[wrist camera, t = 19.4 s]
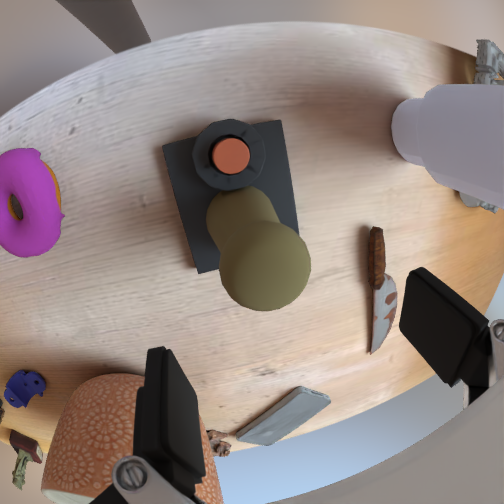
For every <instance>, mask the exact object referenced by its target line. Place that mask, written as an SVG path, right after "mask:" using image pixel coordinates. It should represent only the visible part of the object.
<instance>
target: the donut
mask: <svg viewBox="0 0 504 504" xmlns="http://www.w3.org/2000/svg"><path fill="white" fill-rule="evenodd" d="M40 155H41V153H40V152H39V151H37V150H36V149H34V148H27V149H26V148H18V149H12V150H9V151H7V152H5V153H3V154H1V155H0V245H1V246H2V247H3V248H4V249H5V250H6V251H8V252H9V253H11V254H13V255H15V256H18V257H30V256H38V255H41V254H43V253H45V252H47V251H49V250H50V249H51V248H52V247H53V246H54V244H55V243H56V241H57V240H58V238H59V237H60V233H61V231H60V226H61V220H62V218H63V217H65V215H64V214H62V213H61V197H60V190H59V186H58V182H57V180H56V177H55V174H54V173H53V171H52V170H51V168H50V167H49V166H48V165H47V164H46V163H45V162H43V161H42V160H41V159H40ZM12 194H14V195H15V196H16V198H17V199H18V201H19V203H20V205H21V207H22V210H23V219H20V218H19V217H18V216H17V214H16V213H15V211H14V209H13V207H12V203H11V197H12Z"/></svg>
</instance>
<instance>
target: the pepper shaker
mask: <svg viewBox="0 0 504 504" xmlns="http://www.w3.org/2000/svg"><path fill="white" fill-rule="evenodd" d="M206 224H207V229H208V232H209V233H210V235H211V237H212V239H213V240H214V242H215V244H216V246H217V247H218V249H219V251H220V253H221V256H220V262H219V271H220V276H221V281H222V285H223V286H224V288H225V289H226V291H227V293H228V294H229V296H230V297H231V298H232V299H233V300H234V301H236V302H237V303H238V304H240V305H241V306H243V307H246V308H249V309H252V310H255V311H272V310H276V309H280V308H282V307H284V306H286V305H288V304H290V303H291V302H292V301H294V300H295V299H296V298H297V297H298V296H299V295H300V294H301V292H302V291H303V289H304V288H305V286H306V284H307V282H308V278H309V275H310V272H311V258H310V255H309V252H308V249H307V247H306V244H305V242H304V241H303V240H302V239H301V237H300V236H299V235H298V234H297V233H296V232H295V231H294V230H293V229H291V228H290V227H288V226H286V225H284V224H282V223H280V221H279V219H278V217H277V214H276V212H275V210H274V208H273V206H272V204H271V202H270V199H269V198H268V197H267V196H266V195H265V194H264V193H263V192H262V191H261V190H259V189H257V188H255V187H253V186H248V185H247V186H246V187H243V188H239V189H234V190H230V191H225V190H222V191H220V192H219V193H218V194H217V195H216V196H215V197H214V198H213V199H212V201H211V203H210V205H209V207H208V209H207V215H206Z"/></svg>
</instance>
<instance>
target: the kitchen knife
mask: <svg viewBox="0 0 504 504" xmlns="http://www.w3.org/2000/svg"><path fill="white" fill-rule="evenodd" d="M385 267H386V262H385V243H384V237H383V229H381V228H379V227H374V226H373V227H372V229H371V231H370V242H369V273H370V279H369V283H370V286H371V287H372V288H373V322H372V342H371V350H370V355H371V354H372V353H373V352H375V351H376V350H377V349H379V348H380V346H381V345H382V343H383V341H384V340H385V338H386V336H387V334H388V333H389V331H390V329H391V326H392V323H393V321H394V318H395V313H396V308H397V290H396V285H395V282H394V281H393V279H392V277H391V276H389V275H387V274H385V273H384V272H385Z"/></svg>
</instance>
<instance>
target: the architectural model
mask: <svg viewBox="0 0 504 504" xmlns="http://www.w3.org/2000/svg"><path fill="white" fill-rule="evenodd" d="M476 41H477V43H478V47H477V48H478V50H477V51H478V52H477V60H476V65H478V67H475V69H476V70H477V71H478V72H479V73H475V76H474V77H475V78H474V83H473V84H484V85H502V86H504V80H494V79H493V78H499V77H498V75H497V74H496V73H499V75H500V76H501V77H502V78H503V79H504V54H503V52H502V51H501V50H500V49H499V48H498V47H497V46H496V45H495V43H494V42H491V41H490V40H476ZM459 193H460V197H461V199H462V201H463V203H464V204H465V205H466V206H467V207H477V206H481V207H483V208H484V209H485V210H490V211H491V212H493V213H496V212H497V210H498V208H499V207H497V206H494V205H492V204H490V203H487V202H485V201H483V200H480V199H478V198H475V197H473V196H470V195H467V194H465V193H462V192H460V191H459Z"/></svg>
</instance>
